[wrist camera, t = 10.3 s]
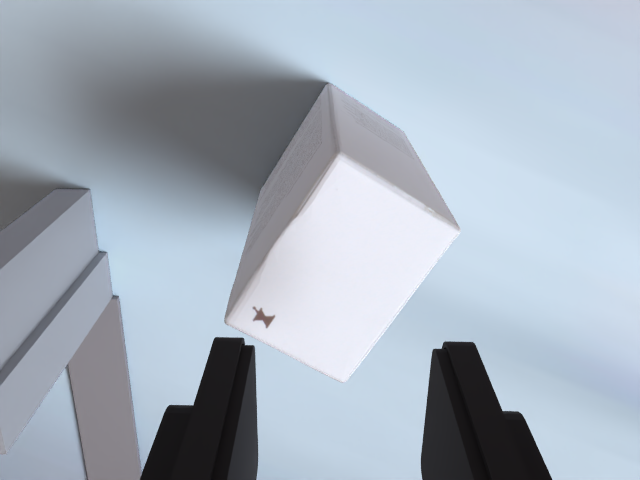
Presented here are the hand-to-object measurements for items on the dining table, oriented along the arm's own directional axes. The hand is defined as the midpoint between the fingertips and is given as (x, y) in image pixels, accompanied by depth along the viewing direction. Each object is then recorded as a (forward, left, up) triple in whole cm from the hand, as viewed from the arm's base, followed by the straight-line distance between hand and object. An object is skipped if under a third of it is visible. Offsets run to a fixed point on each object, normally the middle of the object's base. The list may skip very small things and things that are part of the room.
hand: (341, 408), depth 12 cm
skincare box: (0, 0, -18) cm, 18 cm away
